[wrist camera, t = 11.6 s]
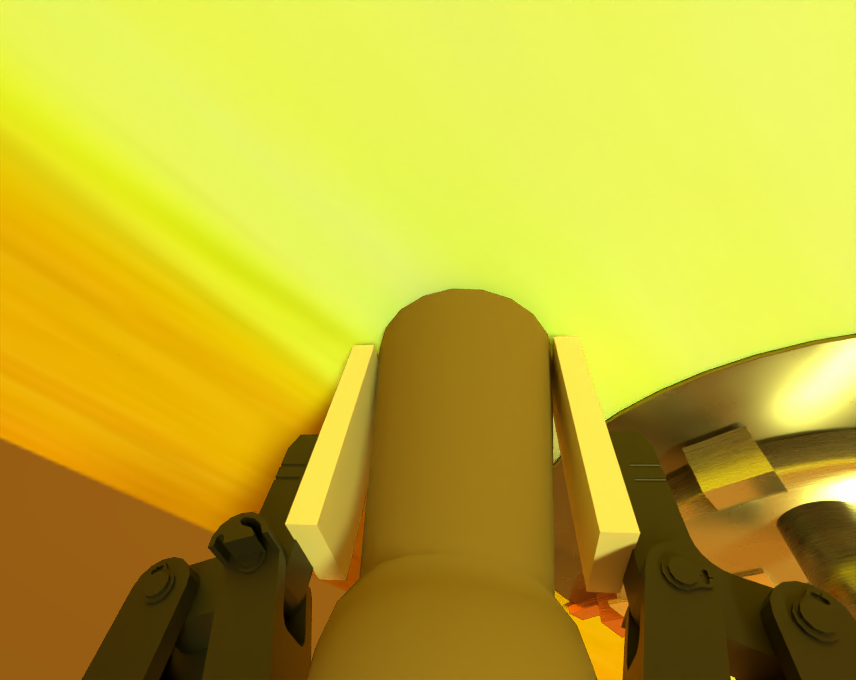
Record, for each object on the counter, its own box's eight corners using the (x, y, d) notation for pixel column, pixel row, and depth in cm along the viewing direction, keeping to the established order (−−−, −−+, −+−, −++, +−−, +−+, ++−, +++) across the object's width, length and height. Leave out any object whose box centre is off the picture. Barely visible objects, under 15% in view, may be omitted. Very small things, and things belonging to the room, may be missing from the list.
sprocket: (630, 639, 27) (669, 798, 21) (523, 474, 18) (542, 675, 12) (1032, 611, 20) (1239, 833, 15) (1183, 325, 11) (1867, 617, 6)
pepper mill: (578, 305, 13) (777, 881, 4) (524, 431, 17) (574, 875, 8) (386, 273, 13) (201, 791, 4) (375, 406, 17) (264, 827, 8)
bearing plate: (522, 623, 28) (522, 633, 28) (527, 340, 14) (528, 351, 14) (938, 650, 25) (947, 663, 24) (1493, 304, 11) (1540, 318, 10)
